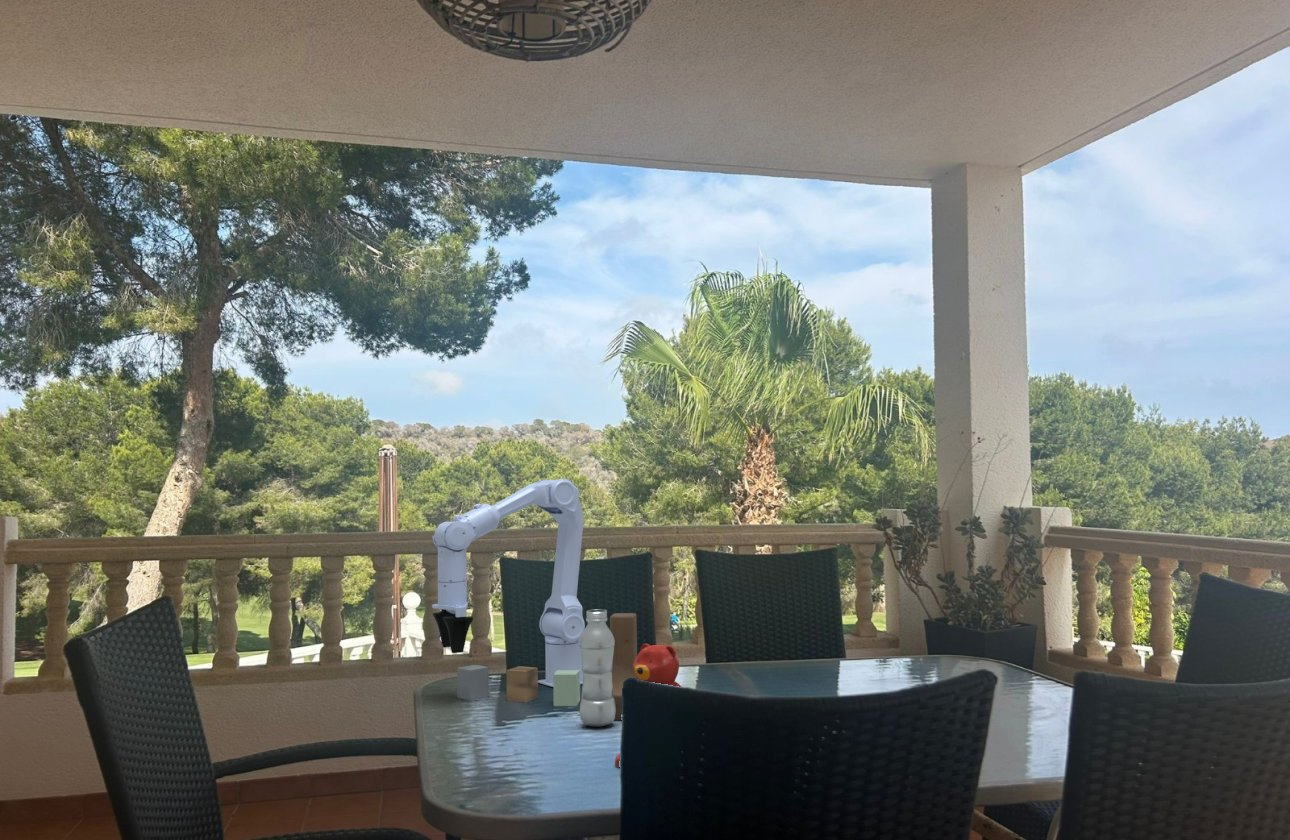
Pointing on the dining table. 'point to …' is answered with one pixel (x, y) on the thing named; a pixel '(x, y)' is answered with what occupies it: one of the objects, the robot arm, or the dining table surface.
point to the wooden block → (623, 653)
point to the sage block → (566, 687)
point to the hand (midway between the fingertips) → (452, 649)
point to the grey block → (472, 682)
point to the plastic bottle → (597, 671)
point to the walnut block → (522, 684)
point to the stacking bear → (655, 667)
